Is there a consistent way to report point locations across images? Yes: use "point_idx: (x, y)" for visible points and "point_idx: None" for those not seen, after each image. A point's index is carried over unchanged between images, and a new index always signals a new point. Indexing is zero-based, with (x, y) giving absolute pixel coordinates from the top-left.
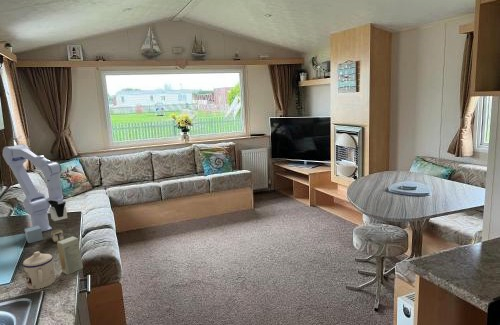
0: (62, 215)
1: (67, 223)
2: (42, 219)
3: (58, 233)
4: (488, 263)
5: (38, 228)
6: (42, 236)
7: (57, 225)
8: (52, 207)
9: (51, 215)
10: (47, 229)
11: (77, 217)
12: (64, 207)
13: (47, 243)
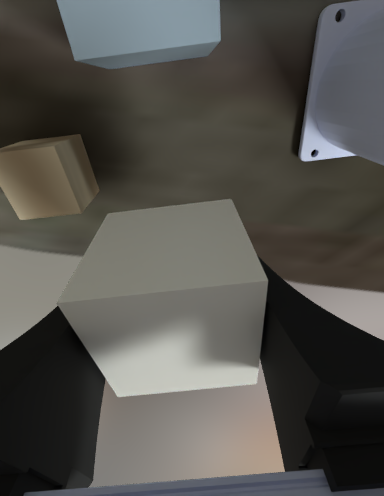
0: None
1: (324, 243)
2: (373, 113)
3: (8, 189)
4: None
5: (91, 25)
6: (103, 67)
7: (346, 196)
8: (221, 310)
9: (199, 221)
10: (304, 130)
11: (369, 288)
12: (114, 387)
13: (3, 91)
